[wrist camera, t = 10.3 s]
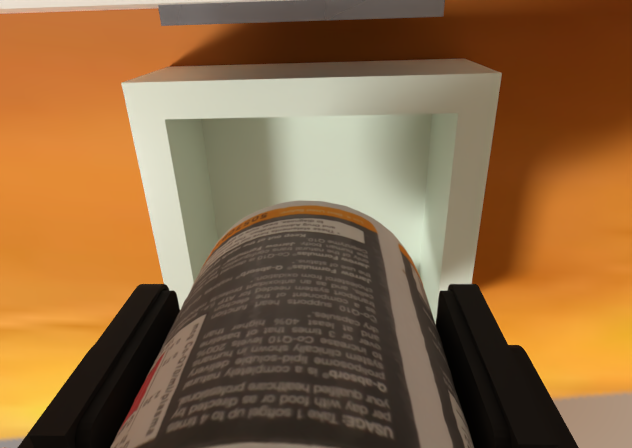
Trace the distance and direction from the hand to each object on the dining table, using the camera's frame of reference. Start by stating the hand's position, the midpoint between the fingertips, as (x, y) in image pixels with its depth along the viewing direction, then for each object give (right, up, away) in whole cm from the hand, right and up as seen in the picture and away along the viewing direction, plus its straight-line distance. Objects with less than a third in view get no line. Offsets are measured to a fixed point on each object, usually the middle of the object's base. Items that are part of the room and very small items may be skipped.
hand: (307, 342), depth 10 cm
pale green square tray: (0, +4, +7) cm, 8 cm away
